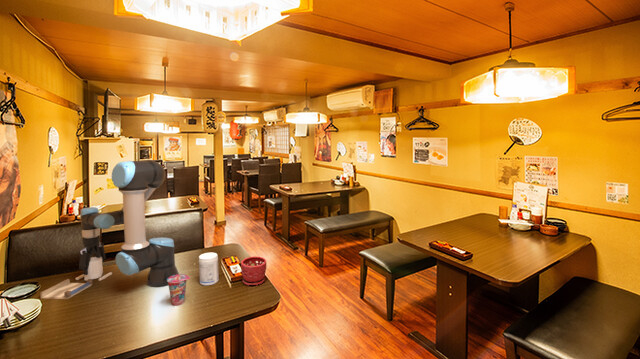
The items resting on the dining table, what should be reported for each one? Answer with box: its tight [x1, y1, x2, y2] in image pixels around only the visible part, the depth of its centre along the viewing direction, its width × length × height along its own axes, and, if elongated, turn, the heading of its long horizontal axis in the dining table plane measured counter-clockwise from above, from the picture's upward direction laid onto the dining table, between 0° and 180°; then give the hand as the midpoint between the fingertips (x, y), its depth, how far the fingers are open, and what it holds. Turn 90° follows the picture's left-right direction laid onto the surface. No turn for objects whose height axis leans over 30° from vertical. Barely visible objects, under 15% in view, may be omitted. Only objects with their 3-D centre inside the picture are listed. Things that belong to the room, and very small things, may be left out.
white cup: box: [88, 256, 103, 280], centre depth 156 cm, size 8×8×10 cm
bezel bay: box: [39, 278, 94, 300], centre depth 141 cm, size 13×14×3 cm
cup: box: [167, 273, 191, 307], centre depth 131 cm, size 9×8×12 cm
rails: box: [75, 271, 113, 282], centre depth 157 cm, size 14×8×1 cm, turn 88°
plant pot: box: [240, 256, 267, 286], centre depth 152 cm, size 13×13×12 cm
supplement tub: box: [198, 251, 220, 286], centre depth 152 cm, size 10×10×15 cm
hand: (94, 276), depth 157 cm, fingers open, 8 cm apart
